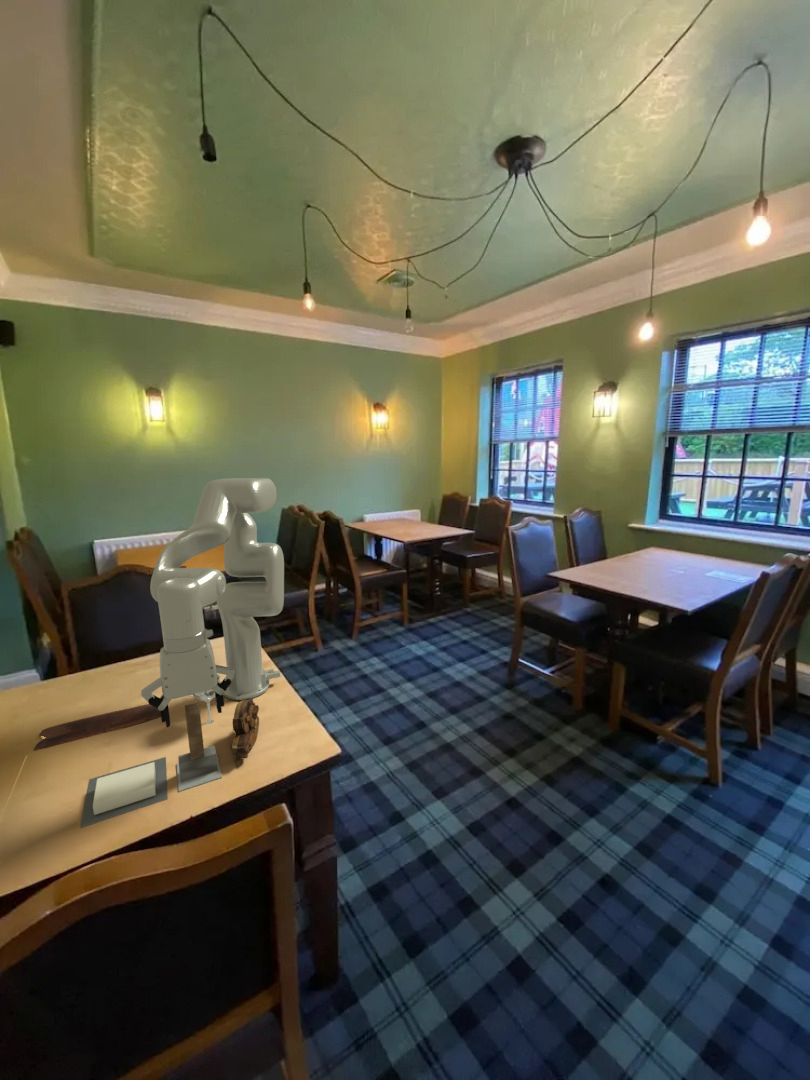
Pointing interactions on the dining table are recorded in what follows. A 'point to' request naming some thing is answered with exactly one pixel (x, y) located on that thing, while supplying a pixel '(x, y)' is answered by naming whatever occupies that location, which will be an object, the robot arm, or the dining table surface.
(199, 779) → the pad
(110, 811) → the rubber mat
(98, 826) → the dining table surface
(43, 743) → the wooden tablet
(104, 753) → the dining table surface
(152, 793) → the tile
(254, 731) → the wooden carving
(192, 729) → the brown grey t-shaped piece
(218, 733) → the dining table surface
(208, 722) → the wineglass
